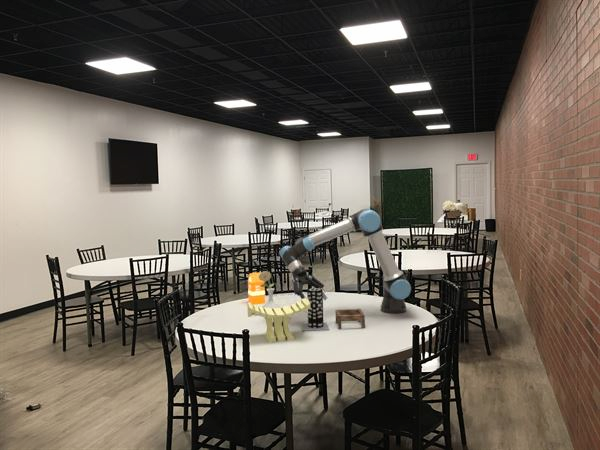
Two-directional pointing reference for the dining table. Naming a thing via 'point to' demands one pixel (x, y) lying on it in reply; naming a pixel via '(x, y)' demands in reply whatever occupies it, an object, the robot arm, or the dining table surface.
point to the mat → (306, 328)
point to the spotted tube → (315, 308)
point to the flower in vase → (265, 277)
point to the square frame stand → (349, 316)
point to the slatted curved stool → (278, 319)
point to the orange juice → (256, 289)
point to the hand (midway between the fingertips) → (317, 301)
